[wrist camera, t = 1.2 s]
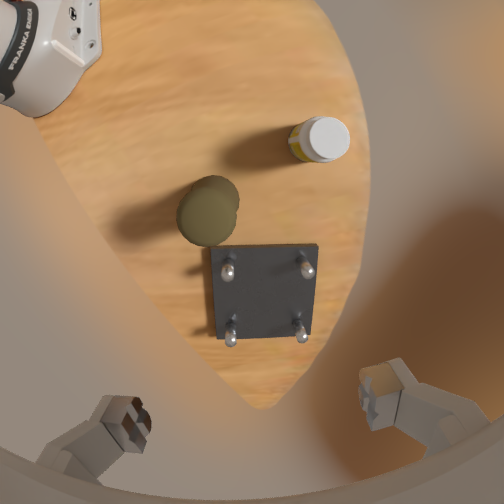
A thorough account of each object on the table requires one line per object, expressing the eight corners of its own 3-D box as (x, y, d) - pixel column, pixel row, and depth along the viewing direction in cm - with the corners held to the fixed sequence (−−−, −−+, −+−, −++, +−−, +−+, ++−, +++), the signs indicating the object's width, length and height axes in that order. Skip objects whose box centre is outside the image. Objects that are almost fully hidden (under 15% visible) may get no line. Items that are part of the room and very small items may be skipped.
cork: (199, 232, 34) (185, 266, 24) (180, 186, 32) (156, 200, 22) (246, 215, 34) (252, 242, 24) (229, 167, 32) (226, 172, 22)
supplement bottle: (325, 163, 32) (352, 166, 24) (286, 160, 32) (304, 162, 24) (326, 124, 31) (354, 116, 23) (288, 121, 31) (305, 110, 23)
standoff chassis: (211, 245, 35) (208, 259, 30) (315, 243, 36) (327, 256, 31) (217, 334, 39) (215, 355, 35) (308, 330, 40) (316, 349, 35)
